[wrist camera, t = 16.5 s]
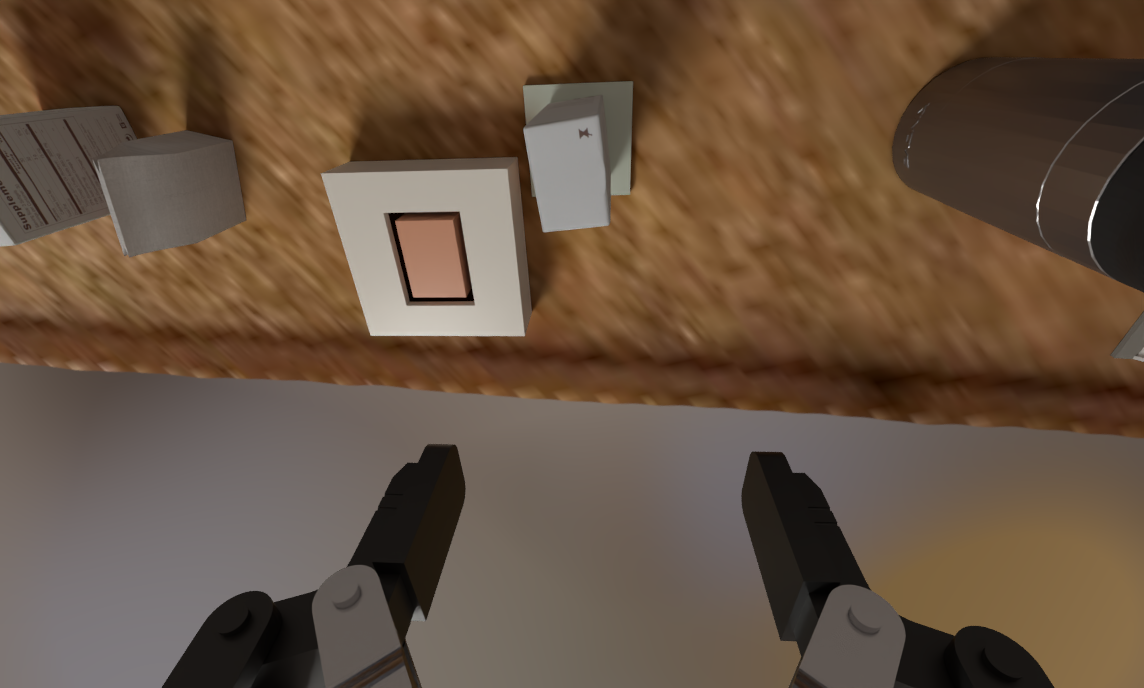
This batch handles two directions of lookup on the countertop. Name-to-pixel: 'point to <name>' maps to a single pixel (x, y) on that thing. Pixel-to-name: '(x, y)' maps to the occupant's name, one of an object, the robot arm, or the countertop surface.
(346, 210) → the frame
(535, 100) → the mat
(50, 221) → the supplement box
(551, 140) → the skincare box
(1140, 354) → the skyscraper
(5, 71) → the countertop surface
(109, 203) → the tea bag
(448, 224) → the button
